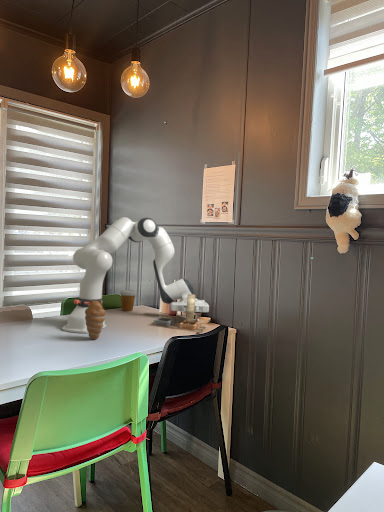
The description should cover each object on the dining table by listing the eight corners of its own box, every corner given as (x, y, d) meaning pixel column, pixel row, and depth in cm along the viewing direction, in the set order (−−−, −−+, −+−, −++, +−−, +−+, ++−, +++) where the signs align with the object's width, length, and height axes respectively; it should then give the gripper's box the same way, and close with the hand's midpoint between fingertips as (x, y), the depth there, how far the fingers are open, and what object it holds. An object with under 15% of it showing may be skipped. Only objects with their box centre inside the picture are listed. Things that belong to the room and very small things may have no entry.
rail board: (199, 334, 189) (199, 327, 188) (147, 327, 197) (147, 320, 197) (205, 329, 200) (206, 322, 200) (156, 322, 208) (156, 315, 208)
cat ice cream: (83, 342, 166) (85, 301, 165) (83, 336, 173) (85, 297, 172) (104, 341, 168) (106, 301, 167) (103, 336, 176) (105, 297, 175)
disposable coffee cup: (130, 308, 241) (130, 289, 240) (138, 311, 234) (139, 291, 233) (116, 309, 235) (117, 290, 234) (124, 312, 228) (125, 292, 227)
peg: (192, 327, 194) (194, 296, 193) (184, 326, 195) (186, 295, 194) (194, 325, 198) (196, 294, 197) (187, 324, 199) (188, 294, 198)
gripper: (170, 298, 208) (170, 303, 194) (207, 300, 209) (210, 305, 196) (169, 309, 208) (170, 315, 194) (206, 311, 210) (209, 317, 196)
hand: (190, 310), depth 195 cm, fingers closed on peg, 4 cm apart
